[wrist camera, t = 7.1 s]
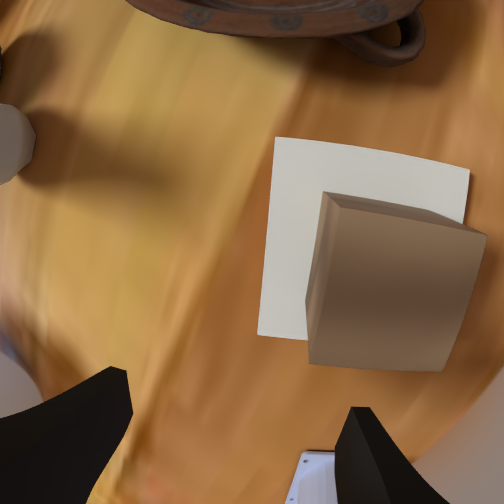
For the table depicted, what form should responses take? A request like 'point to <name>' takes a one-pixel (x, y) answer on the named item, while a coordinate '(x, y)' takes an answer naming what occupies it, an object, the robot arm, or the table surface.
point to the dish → (303, 22)
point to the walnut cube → (388, 285)
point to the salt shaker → (14, 142)
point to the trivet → (309, 202)
